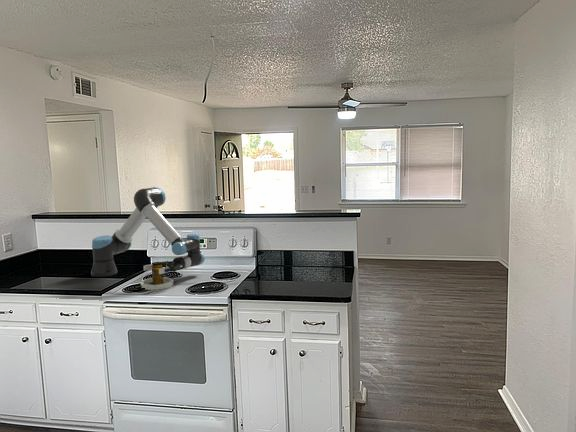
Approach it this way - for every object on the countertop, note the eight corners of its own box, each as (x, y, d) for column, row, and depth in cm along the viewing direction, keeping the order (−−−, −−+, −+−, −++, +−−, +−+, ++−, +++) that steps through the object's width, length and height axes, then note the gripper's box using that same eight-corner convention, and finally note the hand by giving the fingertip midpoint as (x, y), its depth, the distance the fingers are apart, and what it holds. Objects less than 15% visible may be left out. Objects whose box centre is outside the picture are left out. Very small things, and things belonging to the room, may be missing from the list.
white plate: (148, 281, 267) (147, 277, 266) (176, 281, 265) (176, 277, 265) (136, 289, 250) (136, 285, 250) (166, 289, 249) (166, 285, 248)
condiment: (165, 283, 257) (164, 262, 256) (151, 286, 252) (149, 265, 251) (161, 281, 263) (160, 260, 262) (146, 283, 258) (145, 262, 257)
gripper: (196, 271, 264) (166, 280, 247) (168, 266, 279) (138, 273, 262) (195, 259, 263) (165, 266, 246) (167, 254, 278) (137, 260, 261)
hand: (151, 270), depth 254 cm, fingers open, 13 cm apart
